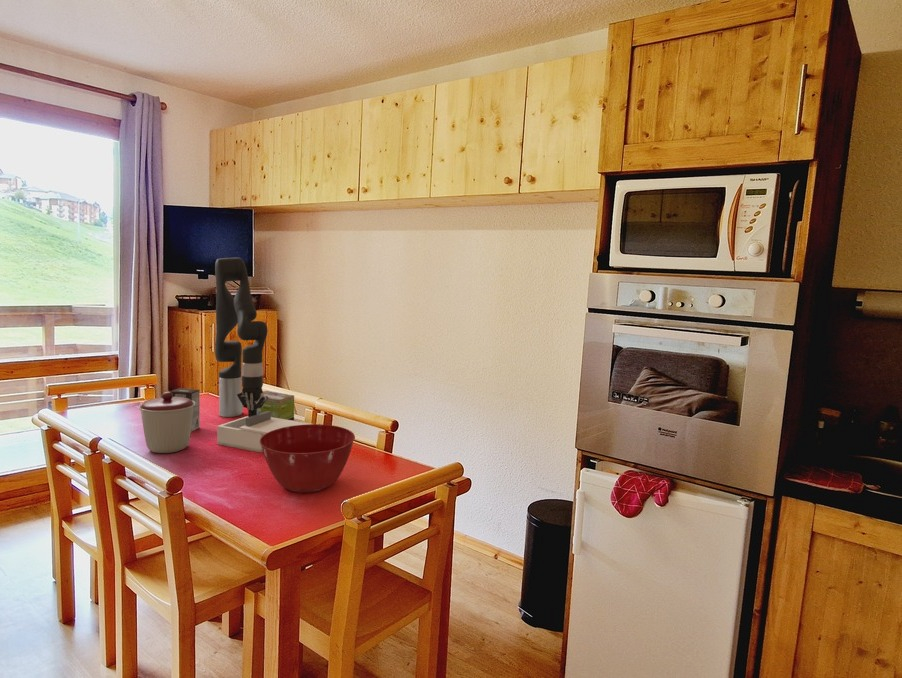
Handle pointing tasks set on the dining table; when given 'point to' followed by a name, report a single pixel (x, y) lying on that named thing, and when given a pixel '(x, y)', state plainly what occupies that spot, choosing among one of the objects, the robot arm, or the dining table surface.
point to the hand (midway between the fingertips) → (252, 419)
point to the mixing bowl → (307, 455)
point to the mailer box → (238, 436)
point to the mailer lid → (267, 423)
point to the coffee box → (194, 396)
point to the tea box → (278, 405)
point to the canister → (167, 422)
